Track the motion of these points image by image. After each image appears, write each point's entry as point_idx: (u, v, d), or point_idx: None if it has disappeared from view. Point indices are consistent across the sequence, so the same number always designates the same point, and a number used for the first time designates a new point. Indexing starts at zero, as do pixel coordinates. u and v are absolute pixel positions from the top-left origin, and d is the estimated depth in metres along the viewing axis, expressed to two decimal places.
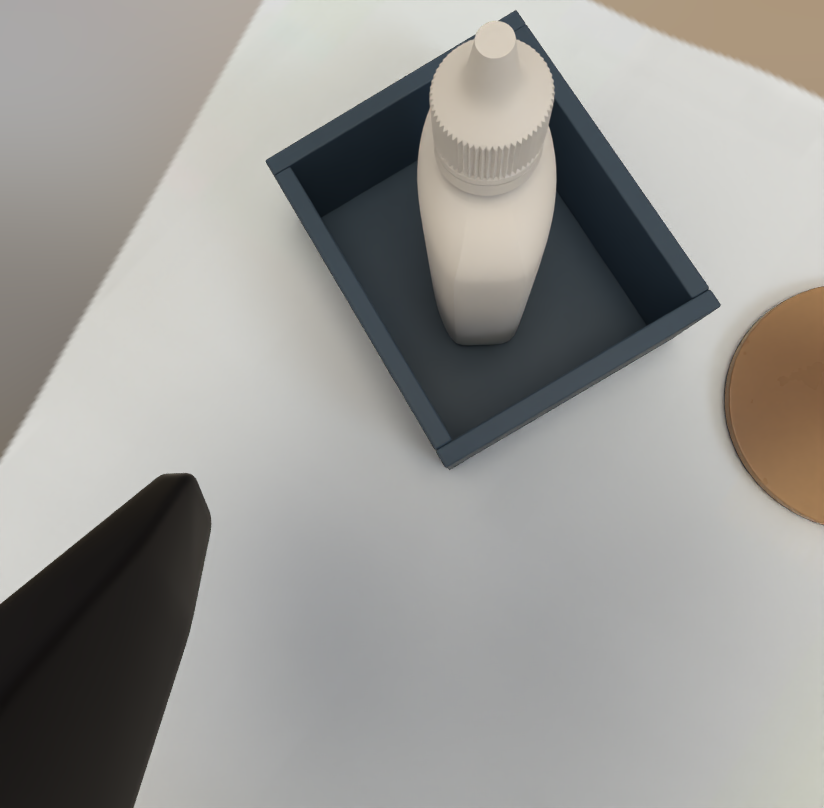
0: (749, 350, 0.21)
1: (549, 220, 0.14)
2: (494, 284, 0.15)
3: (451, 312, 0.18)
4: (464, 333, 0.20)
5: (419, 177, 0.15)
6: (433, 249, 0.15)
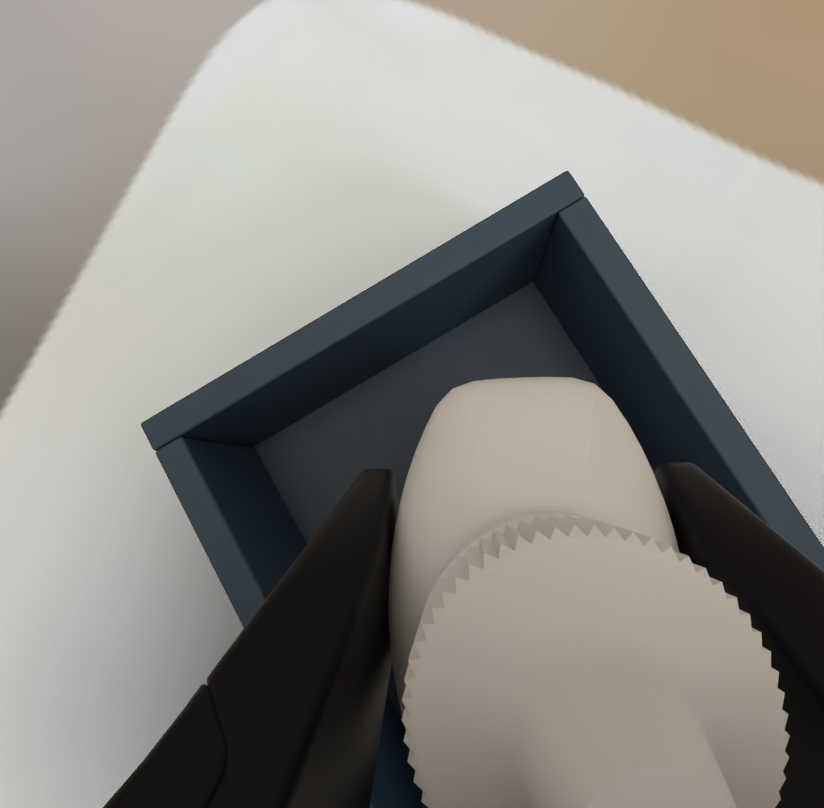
0: None
1: None
2: None
3: None
4: None
5: (392, 627, 0.07)
6: None
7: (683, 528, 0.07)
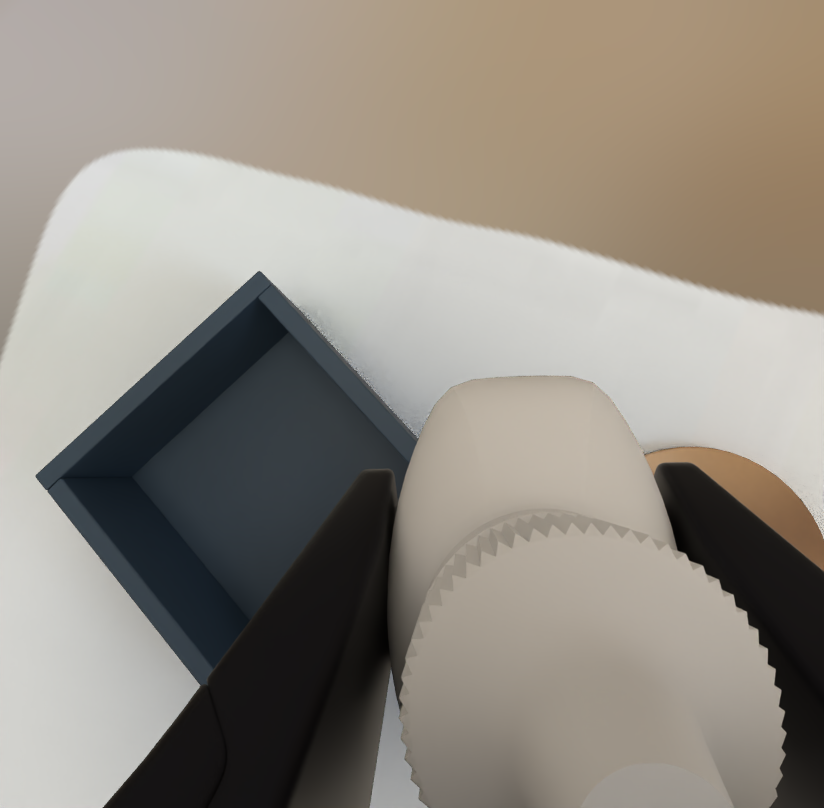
0: None
1: None
2: None
3: None
4: None
5: (390, 625, 0.07)
6: None
7: (683, 528, 0.07)
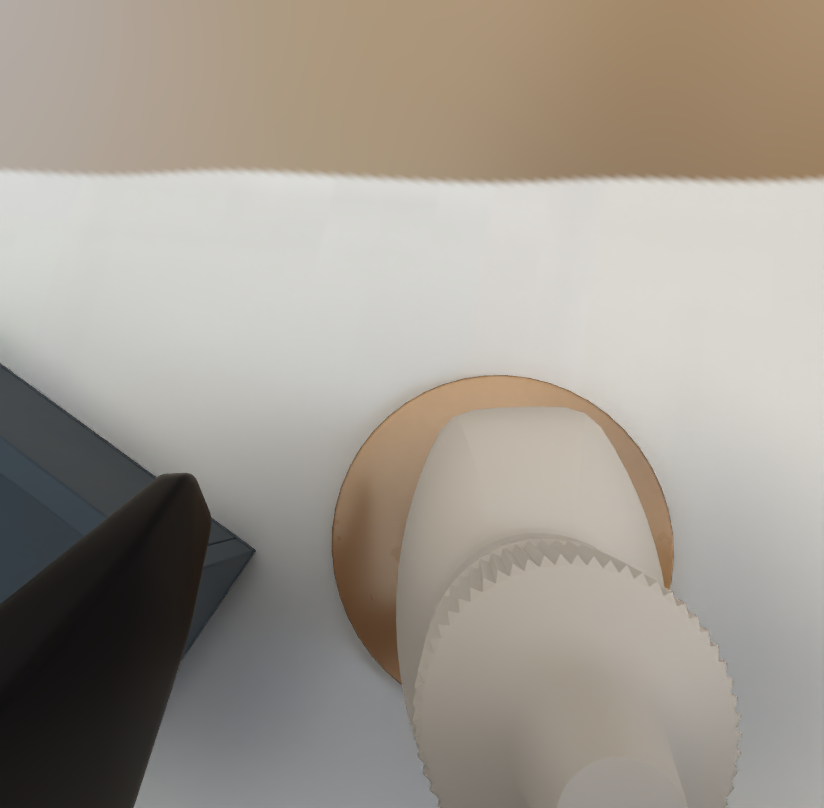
0: (342, 532, 0.15)
1: None
2: None
3: None
4: None
5: (399, 636, 0.08)
6: None
7: None
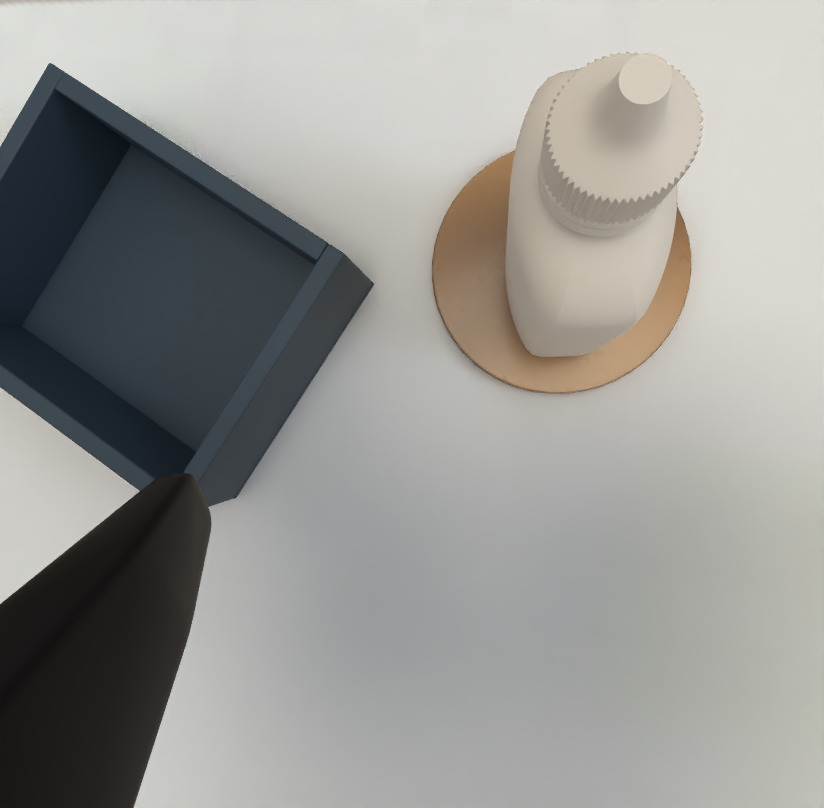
0: (440, 264, 0.21)
1: (668, 255, 0.12)
2: (598, 328, 0.13)
3: (537, 339, 0.16)
4: (545, 352, 0.18)
5: (514, 203, 0.13)
6: (529, 287, 0.13)
7: None
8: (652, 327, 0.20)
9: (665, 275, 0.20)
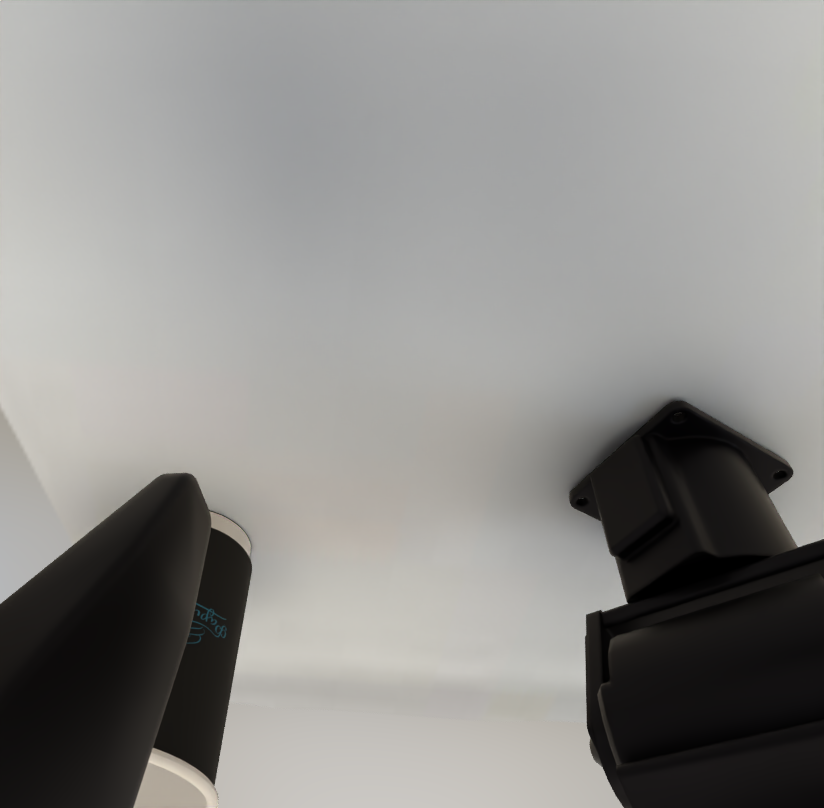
0: None
1: None
2: None
3: None
4: None
5: None
6: None
7: None
8: None
9: None
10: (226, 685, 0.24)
